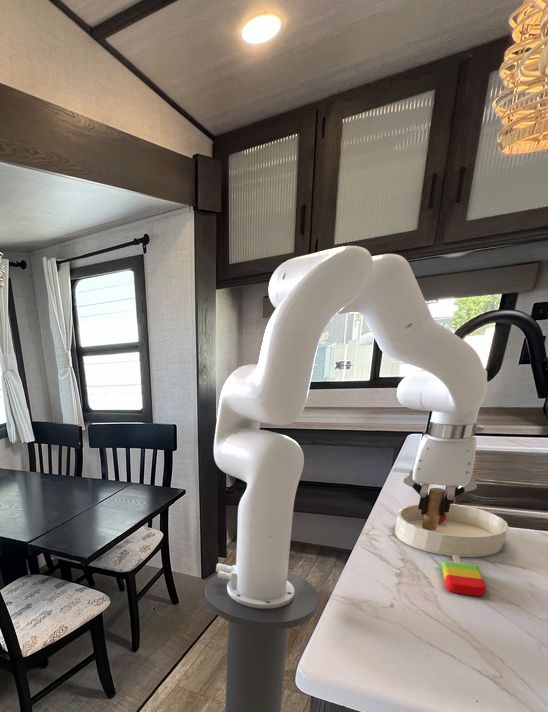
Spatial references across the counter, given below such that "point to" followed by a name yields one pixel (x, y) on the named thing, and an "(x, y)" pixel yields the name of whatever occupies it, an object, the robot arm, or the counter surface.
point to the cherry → (442, 518)
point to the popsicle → (463, 578)
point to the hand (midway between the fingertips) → (432, 513)
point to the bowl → (453, 531)
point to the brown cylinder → (433, 508)
